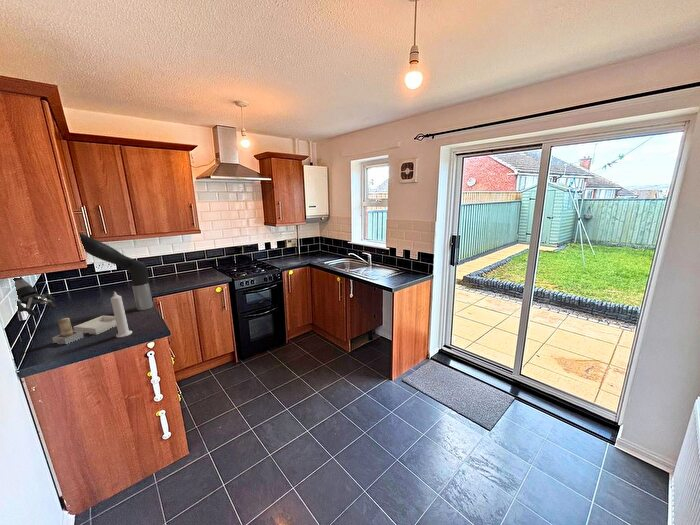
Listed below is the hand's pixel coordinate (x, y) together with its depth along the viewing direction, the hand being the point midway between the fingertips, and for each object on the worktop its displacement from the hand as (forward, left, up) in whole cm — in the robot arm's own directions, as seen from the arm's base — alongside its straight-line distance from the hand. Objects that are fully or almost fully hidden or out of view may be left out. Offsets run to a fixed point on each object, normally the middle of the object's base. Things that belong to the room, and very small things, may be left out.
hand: (44, 311), depth 150 cm
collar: (+6, +9, -16) cm, 20 cm away
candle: (+12, +35, -16) cm, 40 cm away
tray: (-7, +19, -16) cm, 25 cm away
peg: (+6, +9, -16) cm, 20 cm away
